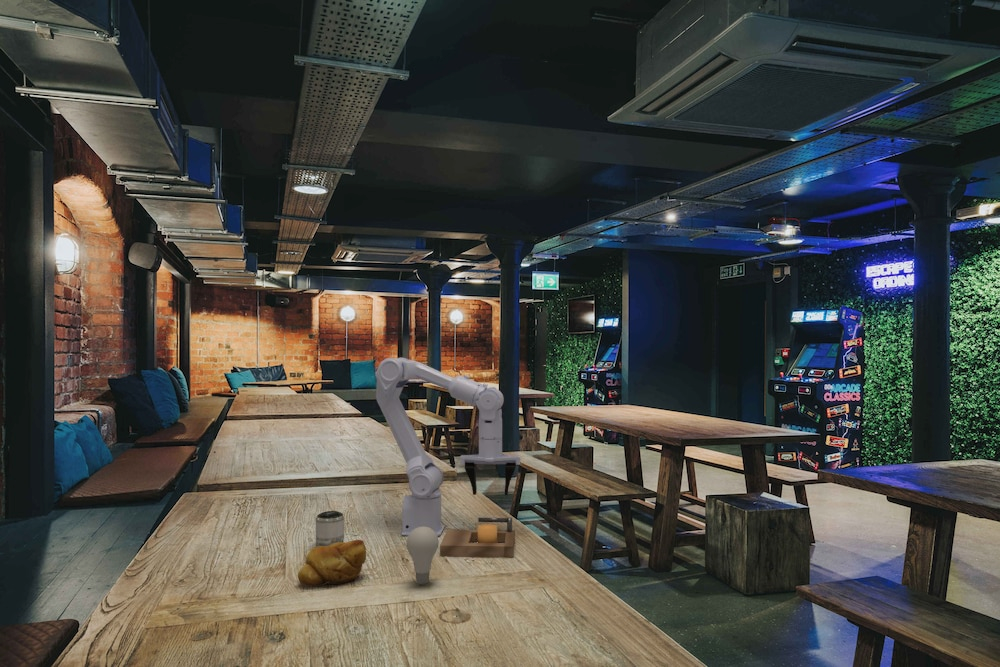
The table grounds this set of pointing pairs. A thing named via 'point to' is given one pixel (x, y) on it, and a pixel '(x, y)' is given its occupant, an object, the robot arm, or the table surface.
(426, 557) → the lightbulb
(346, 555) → the bread roll
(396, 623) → the table surface
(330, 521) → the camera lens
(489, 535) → the orange rounded capsule
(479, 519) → the hook
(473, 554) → the brown square frame
